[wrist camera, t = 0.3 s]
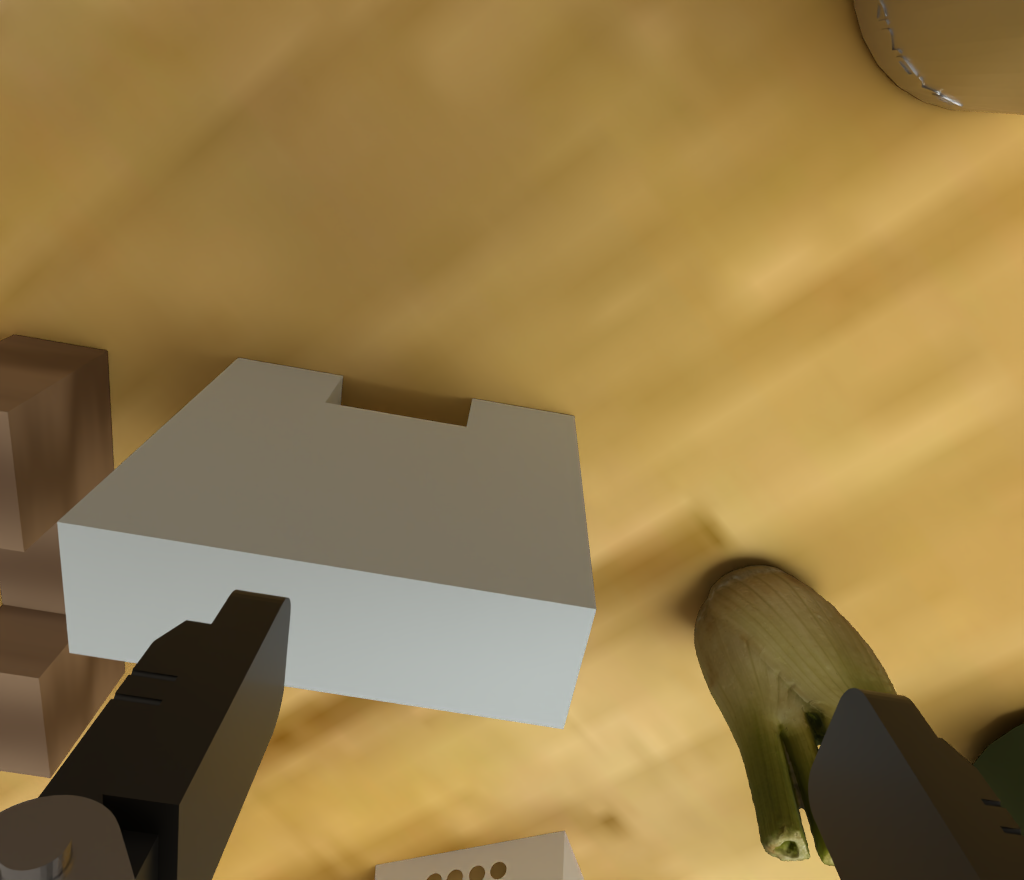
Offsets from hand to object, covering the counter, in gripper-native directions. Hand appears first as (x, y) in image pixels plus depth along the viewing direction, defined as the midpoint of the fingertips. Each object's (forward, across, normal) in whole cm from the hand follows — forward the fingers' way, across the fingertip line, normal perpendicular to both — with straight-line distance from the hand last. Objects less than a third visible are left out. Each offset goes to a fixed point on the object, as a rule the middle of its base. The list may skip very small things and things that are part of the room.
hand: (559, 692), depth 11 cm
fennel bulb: (+20, -12, +9) cm, 25 cm away
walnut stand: (+20, +18, +11) cm, 29 cm away
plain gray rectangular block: (+19, +4, +4) cm, 20 cm away
